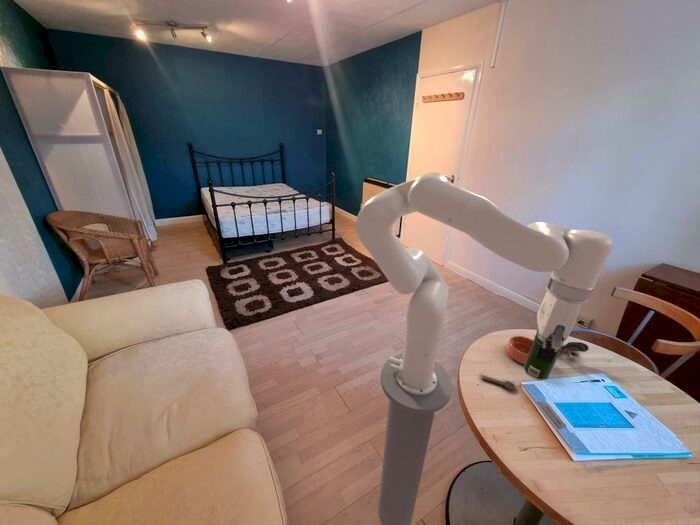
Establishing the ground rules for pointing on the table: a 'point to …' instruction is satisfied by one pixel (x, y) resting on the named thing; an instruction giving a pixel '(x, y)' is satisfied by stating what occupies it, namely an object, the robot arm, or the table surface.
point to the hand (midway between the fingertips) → (542, 351)
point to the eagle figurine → (573, 348)
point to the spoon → (501, 383)
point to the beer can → (538, 367)
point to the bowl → (519, 348)
